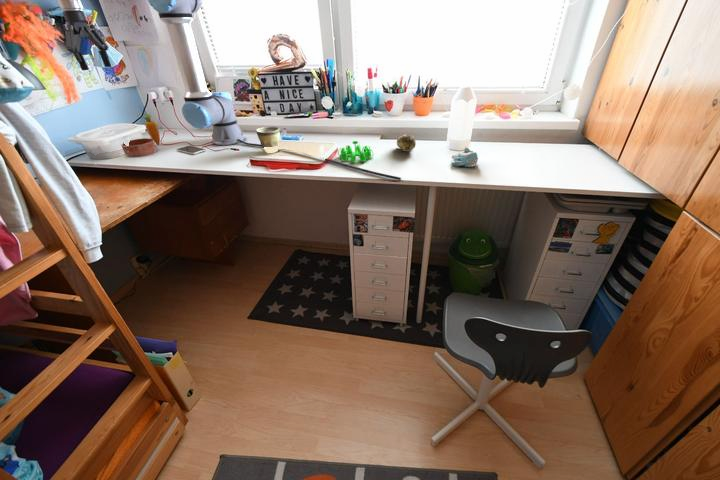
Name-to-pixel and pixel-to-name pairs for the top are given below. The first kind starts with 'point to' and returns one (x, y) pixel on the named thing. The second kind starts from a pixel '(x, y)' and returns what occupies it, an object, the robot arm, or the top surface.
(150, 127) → the carrot
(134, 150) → the bowl
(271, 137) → the ceramic cup
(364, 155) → the chandelier
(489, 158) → the top surface
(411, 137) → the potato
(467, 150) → the stuffed animal
